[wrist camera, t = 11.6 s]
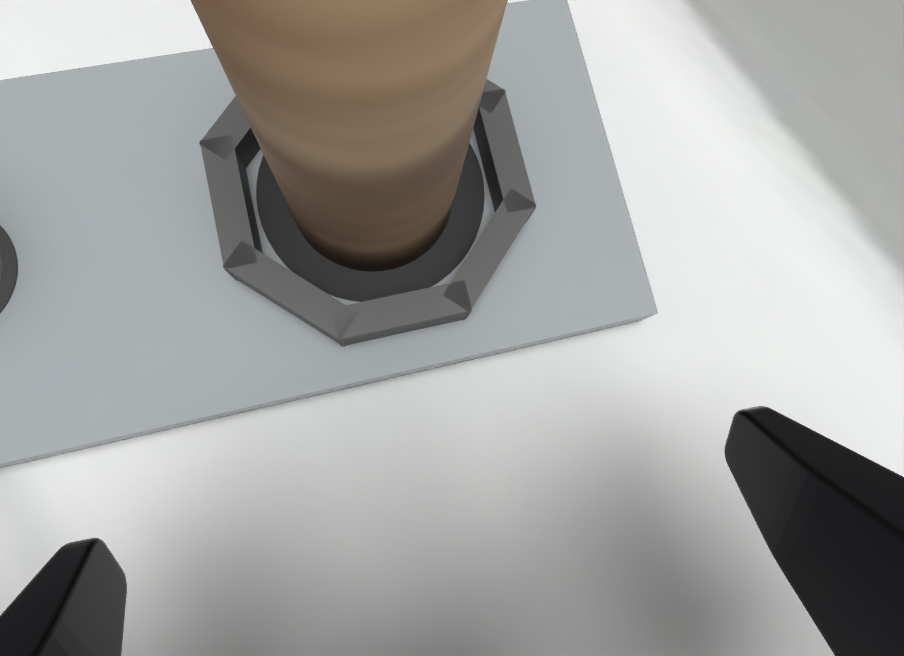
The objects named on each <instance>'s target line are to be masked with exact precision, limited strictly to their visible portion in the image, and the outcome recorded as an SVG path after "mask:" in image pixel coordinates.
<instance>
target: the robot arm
mask: <svg viewBox="0 0 904 656" xmlns="http://www.w3.org/2000/svg"><path fill="white" fill-rule="evenodd" d="M725 458H726V462H727V464H728V466H729V468H730V470H731V473H732V475H733V477H734V479H735V481H736V483H737V485H738V487H739V489H740V491H741V493H742V495H743V497H744V499H745V501H746V503H747V505H748V507H749V509H750V511H751V513H752V515H753V517H754V519H755V521H756V523H757V525H758V527H759V529H760V531H761V533H762V535H763V537H764V540H765V541H766V543H767V545H768V547H769V549H770V551H771V553H772V555H773V556H774V558H775V560H776V561H777V563H778V565H779V566H780V568H781V570H782V571H783V573H784V575H785V576H786V578H787V579H788V581H789V583H790V584H791V586H792V587H793V589H794V591H795V592H796V594H797V595H798V597H799V599H800V600H801V602H802V603H803V605H804V607H805V608H806V610H807V611H808V613H809V615H810V616H811V618H812V619H813V621H814V623H815V624H816V626H817V627H818V629H819V631H820V632H821V634H822V635H823V637H824V639H825V640H826V642H827V643H828V645H829V647H830V648H831V650H832V651H833V653H834V655H835V656H904V477H902V476H901V475H899V474H897V473H895V472H893V471H891V470H889V469H887V468H885V467H883V466H881V465H879V464H877V463H875V462H873V461H871V460H869V459H868V458H866V457H864V456H862V455H860V454H858V453H856V452H854V451H852V450H850V449H848V448H846V447H844V446H842V445H840V444H838V443H836V442H835V441H833V440H831V439H829V438H827V437H825V436H823V435H821V434H819V433H817V432H815V431H813V430H811V429H809V428H807V427H805V426H803V425H802V424H800V423H798V422H796V421H794V420H792V419H790V418H788V417H786V416H784V415H782V414H780V413H778V412H776V411H774V410H772V409H770V408H768V407H764V406H758V407H753V408H748V409H743V410H739V411H738V412H737V413H736V414H735V415H734V417H733V420H732V424H731V427H730V431H729V434H728V438H727V441H726V445H725ZM126 593H127V583H126V577H125V574H124V572H123V570H122V568H121V567H120V565H119V564H118V562H117V561H116V559H115V558H114V556H113V555H112V553H111V552H110V550H109V549H108V547H107V546H106V544H105V543H104V542H103V541H102V540H100V539H98V538H91V539H86V540H81V541H76V542H71V543H68V544H66V545H64V546H63V547H61V548H60V549H59V550H58V551H57V552H56V553H55V554H54V556H53V557H52V558H51V559H50V560H49V561H48V562H47V564H46V565H45V566H44V567H43V568H42V569H41V570H40V571H39V573H38V574H37V575H36V576H35V577H34V578H33V579H32V580H31V582H30V583H29V584H28V585H27V586H26V587H25V588H24V589H23V591H22V592H21V593H20V594H19V595H18V596H17V597H16V598H15V600H14V601H13V602H12V603H11V604H10V605H9V606H8V607H7V609H6V610H5V611H4V612H3V613H2V614H1V615H0V656H121V650H122V639H123V627H124V616H125V604H126Z"/></svg>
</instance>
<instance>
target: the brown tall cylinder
mask: <svg viewBox="0 0 904 656" xmlns="http://www.w3.org/2000/svg"><path fill="white" fill-rule="evenodd" d="M507 1H508V0H191V2H192V4H193V6H194V8H195V10H196V12H197V15H198V17H199V19H200V21H201V23H202V25H203V27H204V29H205V31H206V34H207V36H208V38H209V40H210V42H211V44H212V46H213V48H214V51H215V53H216V55H217V57H218V59H219V61H220V63H221V65H222V67H223V70H224V72H225V74H226V76H227V78H228V80H229V82H230V84H231V86H232V89H233V91H234V93H235V95H236V97H237V99H238V101H239V103H240V106H241V108H242V110H243V112H244V114H245V116H246V118H247V120H248V122H249V125H250V127H251V129H252V131H253V133H254V135H255V137H256V139H257V141H258V144H259V146H260V148H261V150H262V152H263V154H264V156H265V158H266V161H267V163H268V165H269V167H270V169H271V171H272V173H273V175H274V177H275V180H276V182H277V184H278V186H279V188H280V190H281V192H282V194H283V197H284V199H285V201H286V203H287V205H288V207H289V209H290V211H291V213H292V216H293V218H294V220H295V222H296V224H297V226H298V228H299V230H300V232H301V233H302V235H303V236H304V238H305V239H306V240H307V242H308V243H309V244H310V245H311V246H312V247H313V248H314V249H315V250H316V251H317V252H318V253H320V254H321V255H322V256H324V257H325V258H327V259H328V260H330V261H332V262H334V263H336V264H338V265H340V266H343V267H346V268H349V269H354V270H358V271H368V272H376V271H386V270H392V269H395V268H398V267H402V266H404V265H406V264H408V263H411V262H413V261H414V260H416V259H417V258H419V257H421V256H422V255H423V254H424V253H426V252H427V251H428V250H429V249H430V248H431V247H432V246H433V245H434V244H435V243H436V241H437V240H438V238H439V237H440V236H441V234H442V232H443V230H444V228H445V227H446V224H447V222H448V219H449V216H450V212H451V209H452V205H453V201H454V197H455V194H456V190H457V186H458V183H459V179H460V175H461V171H462V168H463V164H464V160H465V157H466V153H467V149H468V145H469V142H470V138H471V134H472V131H473V127H474V123H475V120H476V116H477V112H478V108H479V105H480V101H481V97H482V94H483V90H484V86H485V82H486V79H487V75H488V71H489V68H490V64H491V60H492V56H493V53H494V49H495V45H496V42H497V38H498V34H499V31H500V27H501V23H502V19H503V16H504V12H505V8H506V5H507Z"/></svg>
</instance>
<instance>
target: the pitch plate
mask: <svg viewBox="0 0 904 656" xmlns="http://www.w3.org/2000/svg"><path fill="white" fill-rule="evenodd" d="M657 313H658V311H657V308H656V304H655V301H654V297H653V294H652V291H651V287H650V284H649V280H648V277H647V273H646V270H645V266H644V263H643V260H642V256H641V253H640V249H639V246H638V242H637V239H636V235H635V232H634V229H633V225H632V222H631V218H630V215H629V211H628V208H627V205H626V201H625V198H624V194H623V191H622V187H621V184H620V180H619V177H618V174H617V170H616V167H615V163H614V160H613V156H612V153H611V149H610V146H609V143H608V139H607V136H606V132H605V129H604V125H603V122H602V119H601V115H600V112H599V108H598V105H597V101H596V98H595V94H594V91H593V88H592V84H591V81H590V77H589V74H588V70H587V67H586V63H585V60H584V57H583V53H582V50H581V46H580V43H579V39H578V36H577V33H576V29H575V26H574V22H573V19H572V15H571V12H570V8H569V5H568V2H567V0H528V1H522V2H515V3H508V4H507V5H506V8H505V12H504V16H503V19H502V23H501V27H500V31H499V34H498V38H497V42H496V45H495V49H494V53H493V56H492V60H491V64H490V68H489V71H488V75H487V79H486V82H485V86H484V90H483V94H482V97H481V101H480V105H479V108H478V112H477V116H476V120H475V123H474V127H473V131H472V134H471V138H470V142H469V145H468V149H467V153H466V157H465V160H464V164H463V168H462V171H461V175H460V179H459V183H458V186H457V190H456V194H455V197H454V201H453V205H452V209H451V212H450V216H449V219H448V222H447V224H446V227H445V228H444V230H443V232H442V234H441V236H440V237H439V238H438V240H437V241H436V243H435V244H434V245H433V246H432V247H431V248H430V249H429V250H428V251H427V252H426V253H424V254H423V255H422V256H421V257H419V258H417V259H416V260H414V261H413V262H411V263H408V264H406V265H404V266H402V267H398V268H395V269H392V270H386V271H376V272H368V271H358V270H354V269H349V268H346V267H343V266H340V265H338V264H336V263H334V262H332V261H330V260H328V259H327V258H325V257H324V256H322V255H321V254H320V253H318V252H317V251H316V250H315V249H314V248H313V247H312V246H311V245H310V244H309V243H308V242H307V240H306V239H305V238H304V236H303V235H302V233H301V232H300V230H299V228H298V226H297V224H296V222H295V220H294V218H293V216H292V213H291V211H290V209H289V207H288V205H287V203H286V201H285V199H284V197H283V194H282V192H281V190H280V188H279V186H278V184H277V182H276V180H275V177H274V175H273V173H272V171H271V169H270V167H269V165H268V163H267V161H266V158H265V156H264V154H263V152H262V150H261V148H260V146H259V144H258V141H257V139H256V137H255V135H254V133H253V131H252V129H251V127H250V125H249V122H248V120H247V118H246V116H245V114H244V112H243V110H242V108H241V106H240V103H239V101H238V99H237V97H236V95H235V93H234V91H233V89H232V86H231V84H230V82H229V80H228V78H227V76H226V74H225V72H224V70H223V67H222V65H221V63H220V61H219V59H218V57H217V55H216V53H215V51H214V48H211V49H204V50H197V51H191V52H184V53H177V54H171V55H164V56H158V57H151V58H144V59H138V60H131V61H125V62H118V63H111V64H105V65H98V66H91V67H85V68H78V69H72V70H65V71H58V72H52V73H45V74H38V75H32V76H25V77H19V78H12V79H5V80H0V468H2V467H6V466H10V465H15V464H19V463H23V462H28V461H32V460H37V459H41V458H45V457H50V456H54V455H58V454H63V453H67V452H71V451H76V450H80V449H84V448H89V447H93V446H97V445H102V444H106V443H110V442H115V441H119V440H123V439H128V438H132V437H136V436H141V435H145V434H149V433H154V432H158V431H163V430H167V429H171V428H176V427H180V426H184V425H189V424H193V423H197V422H202V421H206V420H210V419H215V418H219V417H223V416H228V415H232V414H236V413H241V412H245V411H249V410H254V409H258V408H262V407H267V406H271V405H275V404H280V403H284V402H289V401H293V400H297V399H302V398H306V397H310V396H315V395H319V394H323V393H328V392H332V391H336V390H341V389H345V388H349V387H354V386H358V385H362V384H367V383H371V382H375V381H380V380H384V379H388V378H393V377H397V376H401V375H406V374H410V373H415V372H419V371H423V370H428V369H432V368H436V367H441V366H445V365H449V364H454V363H458V362H462V361H467V360H471V359H475V358H480V357H484V356H488V355H493V354H497V353H501V352H506V351H510V350H514V349H519V348H523V347H527V346H532V345H536V344H541V343H545V342H549V341H554V340H558V339H562V338H567V337H571V336H575V335H580V334H584V333H588V332H593V331H597V330H601V329H606V328H610V327H614V326H619V325H623V324H627V323H632V322H636V321H640V320H643V319H645V318H647V317H650V316H652V315H654V314H657Z"/></svg>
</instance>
